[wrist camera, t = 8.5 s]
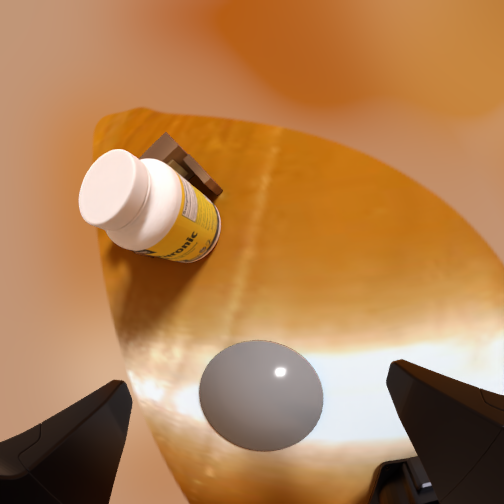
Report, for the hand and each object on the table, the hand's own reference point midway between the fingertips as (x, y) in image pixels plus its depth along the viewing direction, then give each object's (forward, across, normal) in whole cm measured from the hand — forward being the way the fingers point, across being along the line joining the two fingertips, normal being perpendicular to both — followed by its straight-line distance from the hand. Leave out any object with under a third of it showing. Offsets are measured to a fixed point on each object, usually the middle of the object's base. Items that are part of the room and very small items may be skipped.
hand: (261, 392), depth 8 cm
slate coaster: (+8, 0, +8) cm, 11 cm away
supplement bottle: (+14, +4, -3) cm, 15 cm away
